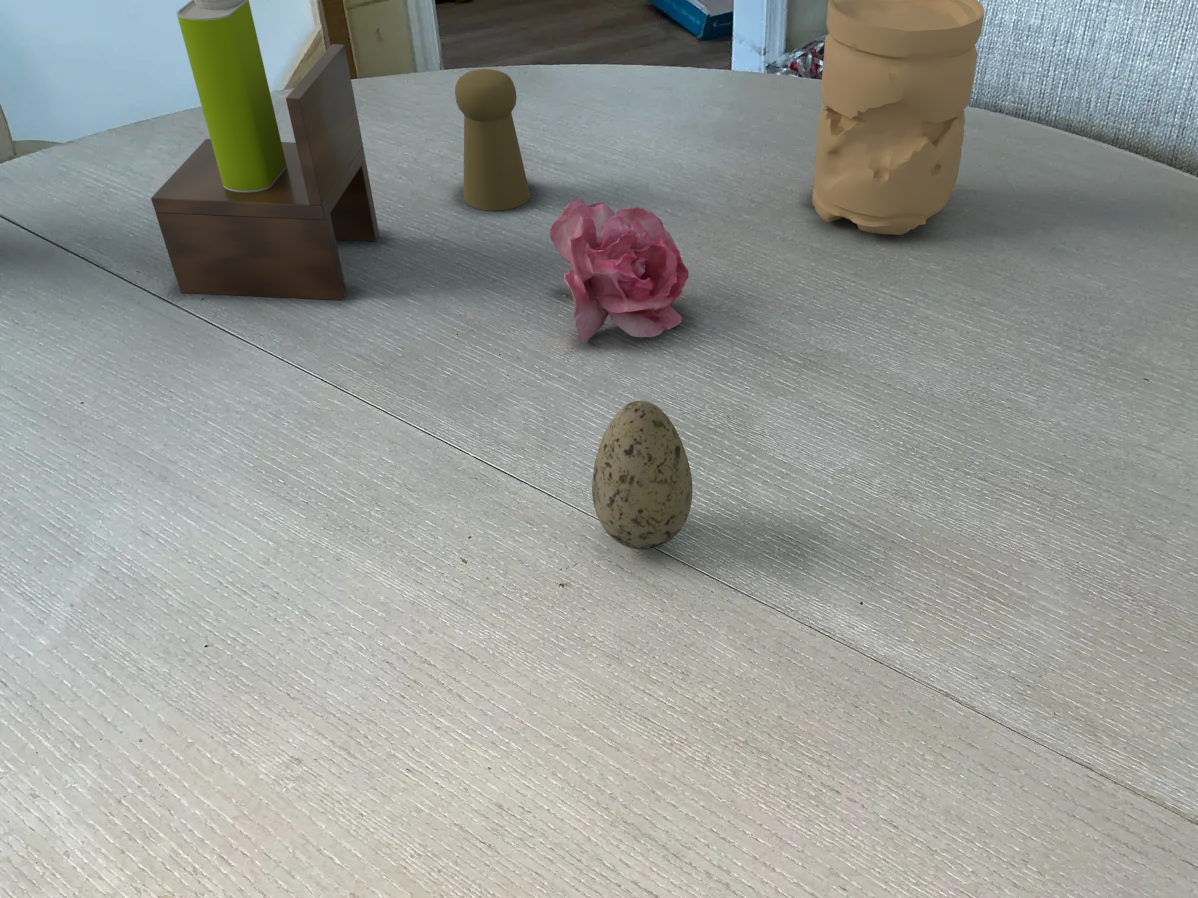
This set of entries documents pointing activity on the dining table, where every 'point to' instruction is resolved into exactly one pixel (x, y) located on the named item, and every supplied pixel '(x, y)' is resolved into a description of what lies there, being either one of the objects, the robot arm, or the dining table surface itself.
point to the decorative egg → (642, 478)
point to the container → (893, 109)
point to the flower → (619, 268)
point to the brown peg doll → (490, 141)
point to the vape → (233, 92)
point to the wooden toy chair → (277, 203)
